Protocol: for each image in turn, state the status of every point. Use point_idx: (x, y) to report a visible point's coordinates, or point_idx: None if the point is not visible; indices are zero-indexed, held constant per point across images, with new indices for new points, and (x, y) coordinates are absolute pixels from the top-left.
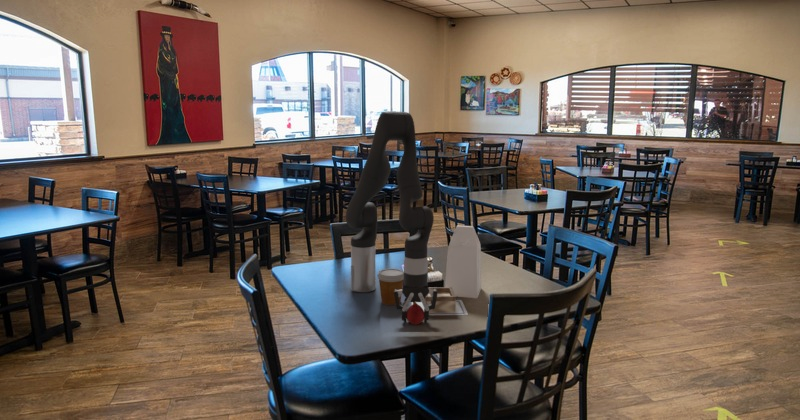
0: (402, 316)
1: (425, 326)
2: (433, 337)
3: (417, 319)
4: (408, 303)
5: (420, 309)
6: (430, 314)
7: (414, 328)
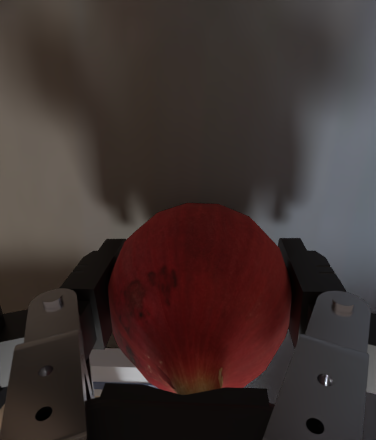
0: (326, 271)
1: (128, 233)
2: (54, 7)
3: (180, 208)
4: (309, 354)
5: (133, 299)
6: (92, 375)
7: (210, 199)
